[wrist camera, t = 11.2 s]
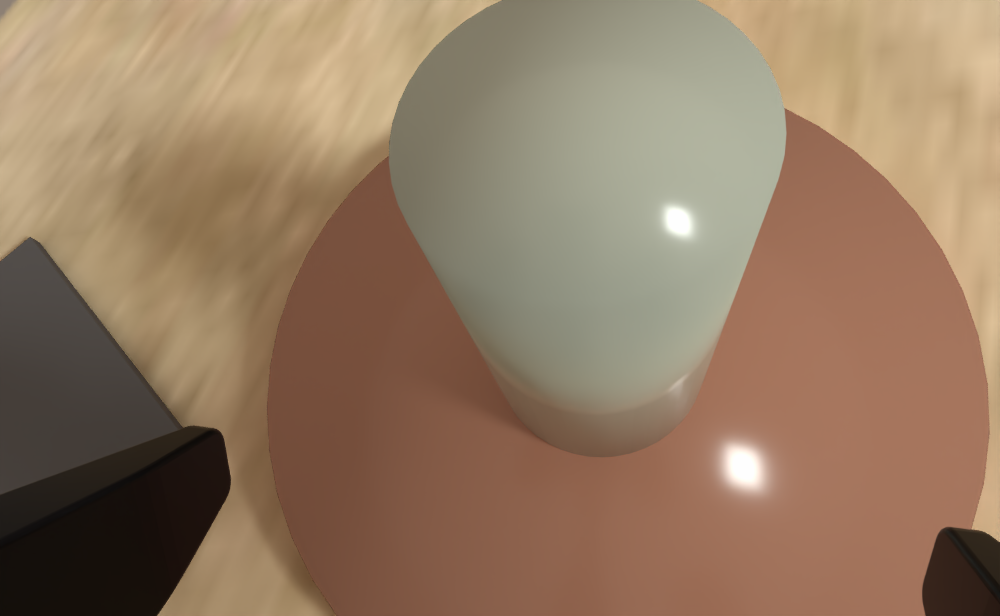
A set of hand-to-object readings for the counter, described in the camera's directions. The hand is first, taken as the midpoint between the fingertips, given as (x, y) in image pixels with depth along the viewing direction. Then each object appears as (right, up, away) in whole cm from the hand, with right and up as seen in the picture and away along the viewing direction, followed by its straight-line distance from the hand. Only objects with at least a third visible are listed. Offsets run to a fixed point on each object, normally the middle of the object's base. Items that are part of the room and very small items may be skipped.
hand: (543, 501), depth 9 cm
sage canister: (+2, +1, +8) cm, 9 cm away
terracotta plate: (+2, +1, +9) cm, 10 cm away
